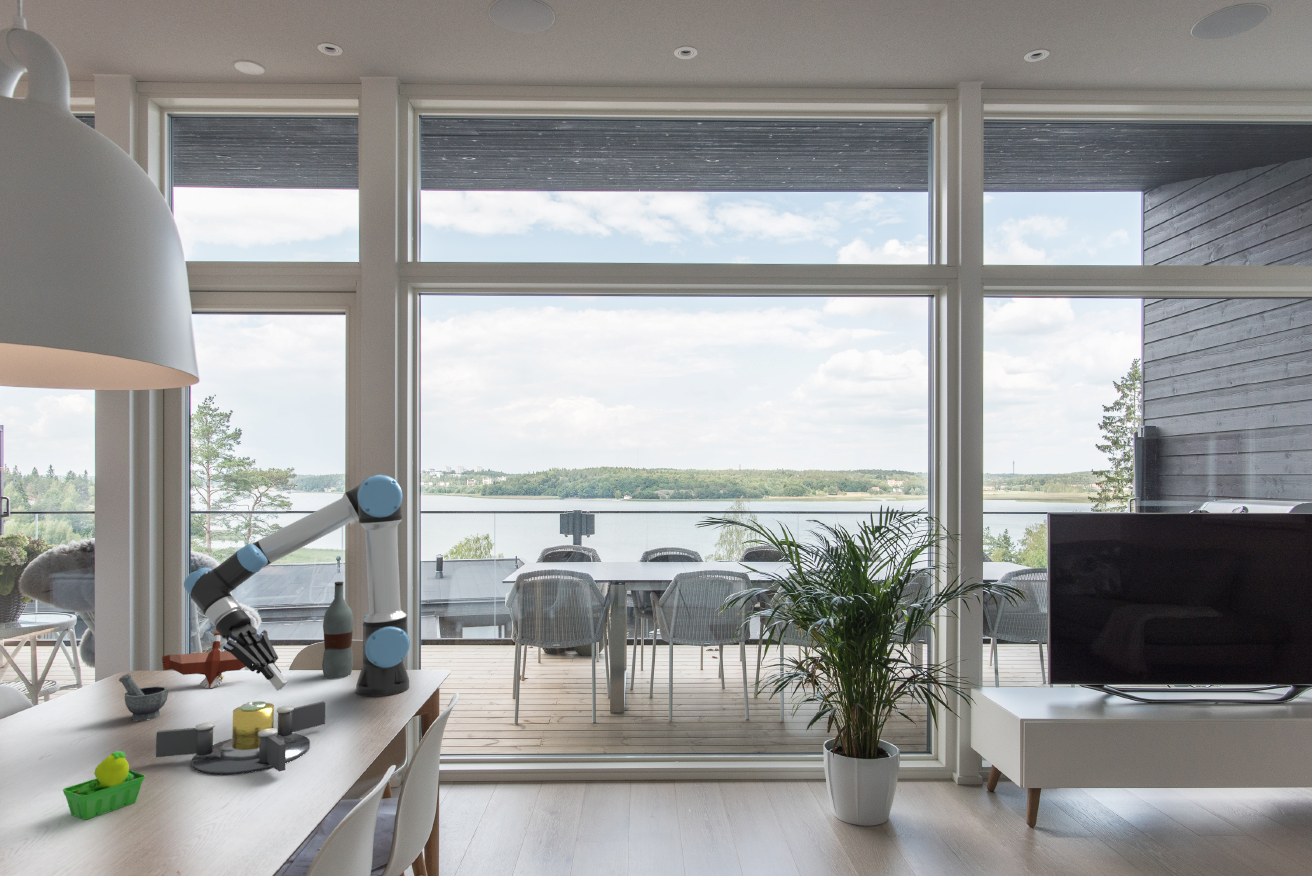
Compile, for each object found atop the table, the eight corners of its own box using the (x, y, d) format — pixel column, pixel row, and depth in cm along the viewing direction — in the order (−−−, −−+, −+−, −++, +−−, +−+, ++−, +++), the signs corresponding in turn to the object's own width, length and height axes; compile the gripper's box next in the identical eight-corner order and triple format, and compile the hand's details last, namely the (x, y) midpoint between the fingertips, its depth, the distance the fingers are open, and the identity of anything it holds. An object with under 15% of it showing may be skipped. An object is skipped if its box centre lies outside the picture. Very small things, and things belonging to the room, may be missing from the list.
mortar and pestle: (171, 709, 208) (172, 666, 208) (163, 720, 199) (164, 674, 200) (122, 715, 203) (123, 670, 204) (112, 725, 195) (114, 678, 195)
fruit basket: (125, 793, 152) (126, 737, 153) (150, 802, 148) (151, 744, 149) (59, 816, 142) (61, 756, 143) (84, 826, 138) (86, 763, 139)
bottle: (350, 669, 249) (351, 579, 251) (355, 676, 242) (356, 582, 243) (319, 674, 245) (321, 581, 246) (324, 680, 237) (325, 584, 238)
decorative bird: (270, 659, 250) (268, 620, 246) (262, 694, 234) (260, 654, 229) (171, 667, 241) (168, 627, 236) (156, 704, 224) (151, 662, 220)
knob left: (255, 760, 166) (255, 731, 167) (273, 755, 169) (273, 727, 169) (272, 774, 158) (273, 744, 159) (291, 769, 161) (292, 739, 161)
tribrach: (318, 732, 188) (318, 683, 189) (298, 768, 165) (299, 712, 166) (211, 741, 182) (212, 691, 183) (175, 780, 159) (176, 722, 159)
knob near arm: (279, 738, 180) (280, 711, 181) (273, 734, 183) (274, 708, 183) (327, 726, 189) (327, 700, 189) (320, 722, 192) (321, 697, 192)
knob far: (216, 749, 173) (217, 721, 174) (211, 755, 170) (211, 726, 170) (160, 754, 170) (160, 726, 171) (153, 760, 167) (154, 731, 167)
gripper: (240, 623, 202) (292, 688, 197) (199, 633, 190) (253, 704, 185) (256, 603, 201) (309, 669, 196) (216, 613, 189) (271, 683, 184)
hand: (282, 686), depth 191 cm, fingers closed
